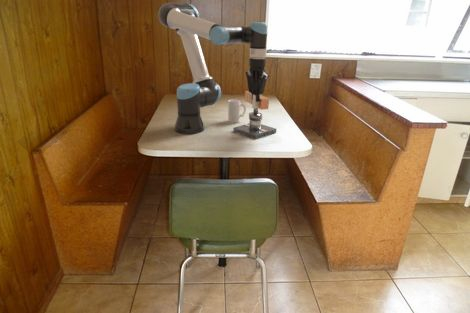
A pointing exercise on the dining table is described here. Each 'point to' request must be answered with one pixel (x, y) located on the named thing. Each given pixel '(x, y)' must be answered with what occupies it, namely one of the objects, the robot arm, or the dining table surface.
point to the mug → (235, 110)
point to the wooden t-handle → (262, 105)
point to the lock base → (256, 132)
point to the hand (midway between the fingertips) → (255, 107)
